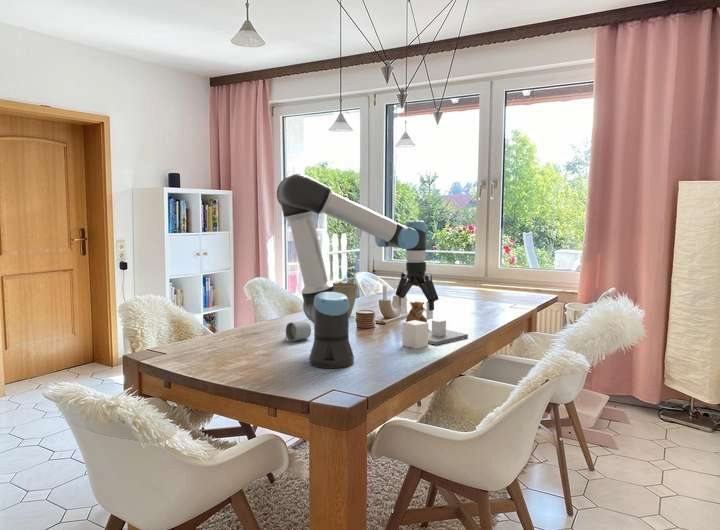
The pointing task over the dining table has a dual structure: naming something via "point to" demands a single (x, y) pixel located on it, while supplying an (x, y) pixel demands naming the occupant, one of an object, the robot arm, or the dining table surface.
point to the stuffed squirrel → (416, 312)
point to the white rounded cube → (415, 334)
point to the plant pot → (347, 292)
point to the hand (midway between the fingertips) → (416, 316)
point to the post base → (444, 338)
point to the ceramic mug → (298, 331)
